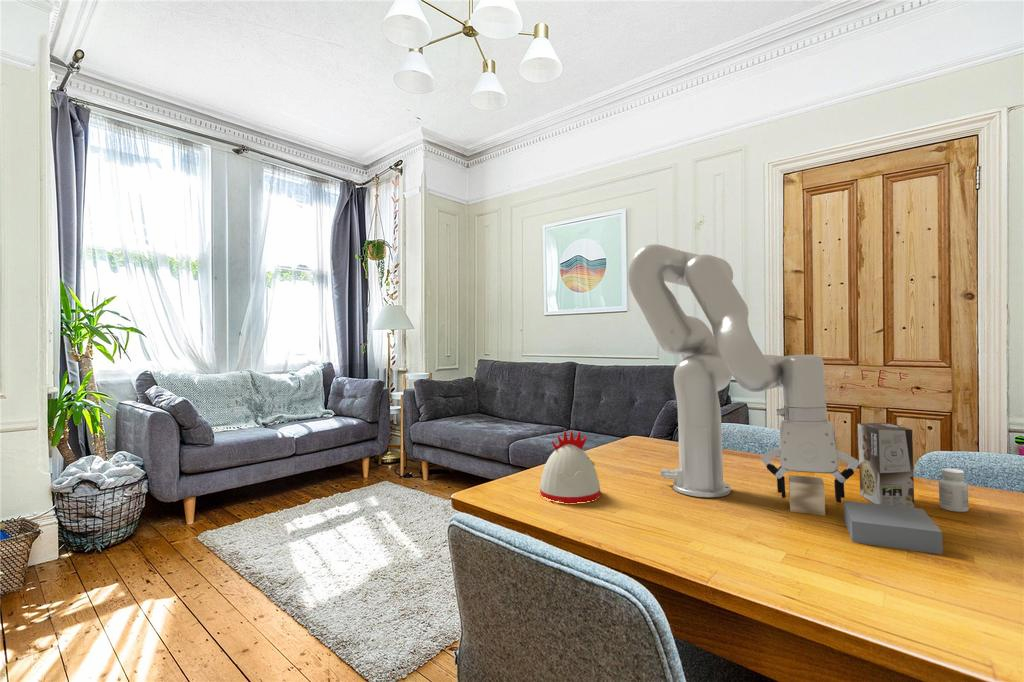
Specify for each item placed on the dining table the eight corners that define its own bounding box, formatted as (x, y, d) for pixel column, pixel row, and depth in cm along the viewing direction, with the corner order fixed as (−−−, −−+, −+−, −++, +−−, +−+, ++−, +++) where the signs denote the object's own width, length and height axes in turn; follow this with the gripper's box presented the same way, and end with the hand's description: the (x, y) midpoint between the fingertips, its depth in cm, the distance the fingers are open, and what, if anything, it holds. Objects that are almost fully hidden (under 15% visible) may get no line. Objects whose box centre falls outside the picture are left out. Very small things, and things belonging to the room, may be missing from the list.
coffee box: (916, 509, 100) (914, 429, 100) (880, 508, 101) (878, 429, 101) (891, 495, 109) (889, 422, 109) (858, 494, 110) (856, 421, 110)
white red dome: (604, 504, 109) (602, 435, 109) (541, 505, 109) (539, 436, 109) (595, 485, 123) (593, 424, 123) (539, 486, 123) (537, 426, 123)
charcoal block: (852, 544, 85) (851, 521, 85) (844, 521, 96) (843, 500, 96) (942, 557, 80) (942, 532, 80) (923, 530, 90) (922, 508, 90)
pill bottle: (963, 506, 101) (962, 468, 101) (972, 513, 97) (971, 474, 97) (936, 504, 103) (935, 466, 103) (943, 511, 99) (942, 472, 99)
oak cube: (790, 511, 101) (789, 482, 101) (789, 502, 106) (788, 474, 106) (825, 515, 98) (824, 485, 98) (822, 506, 103) (821, 477, 103)
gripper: (757, 416, 103) (762, 499, 102) (858, 418, 95) (864, 508, 94) (758, 411, 109) (763, 490, 109) (853, 413, 101) (858, 497, 101)
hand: (810, 498), depth 102 cm, fingers open, 9 cm apart
